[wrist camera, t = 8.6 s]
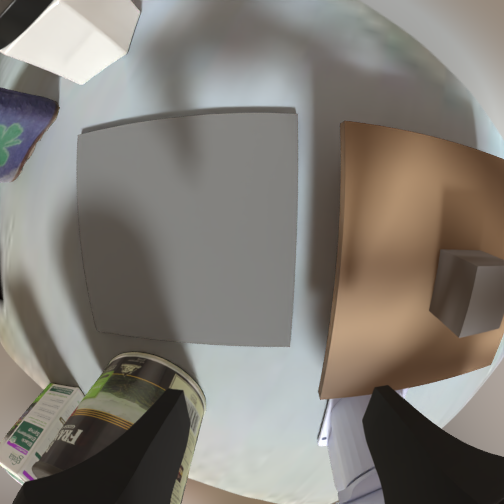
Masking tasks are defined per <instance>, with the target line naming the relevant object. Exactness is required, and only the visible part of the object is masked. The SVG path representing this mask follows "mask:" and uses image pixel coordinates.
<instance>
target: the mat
mask: <svg viewBox="0 0 504 504" xmlns="http://www.w3.org/2000/svg"><path fill="white" fill-rule="evenodd" d="M297 204H298V114H292V113H224V114H206V115H193V116H183V117H173V118H165V119H157V120H150V121H143V122H137V123H131V124H126V125H120V126H115V127H110V128H106V129H101V130H96V131H92V132H88V133H84V134H80V135H78V141H77V206H78V221H79V232H80V242H81V251H82V258H83V265H84V272H85V278H86V284H87V289H88V294H89V299H90V304H91V309H92V313H93V317H94V322H95V326H96V330H97V331H100V332H106V333H112V334H118V335H125V336H132V337H139V338H147V339H155V340H164V341H173V342H184V343H196V344H210V345H227V346H254V347H290V341H291V328H292V314H293V299H294V282H295V263H296V239H297Z"/></svg>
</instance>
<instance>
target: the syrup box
mask: <svg viewBox="0 0 504 504" xmlns="http://www.w3.org/2000/svg"><path fill="white" fill-rule="evenodd" d="M84 397H85V396H84V395H83V393H82V392H81V390H80V388H78V387H75V388H74V387H69V386H63V385H57V384H52V383H49V385H48V386H47V387H46V388H45V389H44V390H43V392H42V393H41V394H40V395H39V396H38V397H37V398H36V399H35V401H34V402H33V403H32V404H31V405H30V407H29V408H28V409H27V410H26V411H25V412H24V414H23V415H22V416H21V417H20V419H19V420H18V421H17V422H16V423H15V425H14V426H13V427H12V428H11V430H10V431H9V432H8V433H7V435H6V436H5V437H4V439H3V440H2V441H1V442H0V466H1V467H2V468H3V469H4V470H5V471H6V472H7V473H8V474H9V475H10V476H11V477H12V478H14V479H15V480H16V481H17V482H19V483H20V484H21V485H22V486H23V484H24V483H25V482H26V481H31V480H35V479H37V478H36V476H35V475H34V473H33V472H32V466H33V465H34V464H35V462H38V461H39V460H40V458H41V457H42V455H43V454H44V452H45V451H46V449H47V448H48V446H49V445H50V443H51V442H52V441H53V439H54V438H55V437H56V435H57V434H58V432H59V431H60V430H61V428H62V427H63V425H64V424H65V422H66V421H67V420H68V418H69V417H70V416H71V414H72V413H73V411H74V410H75V409H76V408H77V406H78V405H79V403H80V402H81V401H82V400H83V398H84Z"/></svg>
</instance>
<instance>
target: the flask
mask: <svg viewBox="0 0 504 504" xmlns="http://www.w3.org/2000/svg"><path fill="white" fill-rule="evenodd" d="M59 109H60V107H59V106H58V104H57V102H56V101H53V100H50V99H48V98H44V97H41V96H36V95H31V94H26V93H21V92H17V91H13V90H8V89H5V88H0V182H12V181H14V180H15V179H16V178H17V177H18V176H19V175H20V173H21V172H22V170H21V169H22V167H23V166H24V164H25V162H26V161H27V159H29V158H30V156H31V155H32V153H33V152H34V149H35V146H36V143H37V142H38V141H39V140H40V141H41V138H42V135H43V134H44V132H46V131H48V129H49V127H50V126H51V125H52V123H53V122H54V121H55V120H56V118H57V115H58V111H59Z"/></svg>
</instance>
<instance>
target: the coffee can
mask: <svg viewBox="0 0 504 504" xmlns="http://www.w3.org/2000/svg"><path fill="white" fill-rule="evenodd" d="M168 388H170V389H178V390H184V395H185V400H186V404H187V409H188V413H189V418H190V422H191V425H190V431H189V437H188V443H187V447H186V450H185V453H184V457H183V460H182V463H181V466H180V469H179V472H178V476H177V479H176V482H175V485H174V488H173V492H172V496H171V502H170V504H181V503H182V499H183V494H184V490H185V486H186V482H187V478H188V474H189V470H190V466H191V462H192V458H193V454H194V450H195V446H196V442H197V439H198V434H199V430H200V427H201V423H202V419H203V416H204V414H205V411H206V401H205V397H204V395H203V393H202V391H201V389H200V387H199V386H198V385H197V383H196V382H195V381H194V380H193V379H192V378H191V377H190V376H189V375H188V374H187V373H186V372H184V371H183V370H182V369H181V368H179V367H178V366H176V365H174V364H172V363H171V362H169V361H167V360H165V359H163V358H160V357H158V356H155V355H151V354H147V353H142V352H128V353H123V354H120V355H118V356H116V357H115V358H113V359H112V360H111V361H110V362H109V364H108V366H107V368H106V369H105V371H104V372H103V373H102V374H101V376H100V377H99V378H98V380H97V381H96V382H95V384H94V385H93V386H92V388H91V389H90V390H89V391H88V393H87V394H86V395H85V397H84V398H83V400H82V401H81V402H80V403H79V405H78V406H77V408H76V409H75V410H74V411H73V413H72V414H71V416H70V417H69V418H68V420H67V421H66V422H65V424H64V425H63V427H62V428H61V430H60V431H59V432H58V434H57V435H56V437H55V438H54V439H53V441H52V442H51V443H50V445H49V446H48V448H47V449H46V451H45V452H44V454H43V455H42V457H41V458H40V460H39V461H38V462H35V464H34V465H33V466H32V472H33V473H34V475H35V476H36V478H37V479H39V478H43V477H46V476H50V475H53V474H56V473H58V472H61V471H63V470H66V469H68V468H70V467H73V466H75V465H77V464H79V463H81V462H83V461H84V460H86V459H88V458H90V457H91V456H93V455H95V454H96V453H98V452H99V451H101V450H102V449H104V448H105V447H107V446H108V445H109V444H111V443H112V442H113V441H115V440H116V439H117V438H118V437H120V436H121V435H122V434H123V433H124V432H125V431H126V430H128V429H129V428H130V427H131V426H132V425H133V424H134V423H135V422H136V421H137V420H138V419H139V418H140V417H141V416H142V415H143V414H144V413H145V412H146V411H147V410H148V409H149V408H150V407H151V406H152V405H153V404H154V403H155V402H156V400H157V399H158V398H159V397H160V396H161V395H162V394H163V393H164V391H165V390H166V389H168Z"/></svg>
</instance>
